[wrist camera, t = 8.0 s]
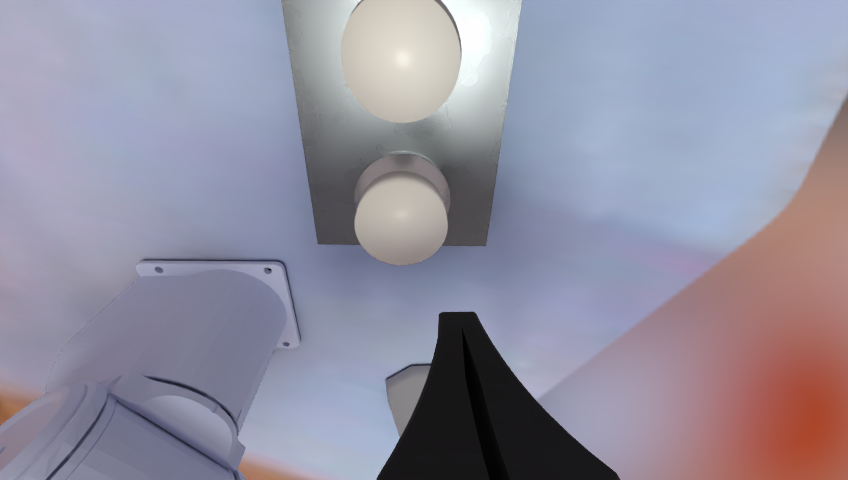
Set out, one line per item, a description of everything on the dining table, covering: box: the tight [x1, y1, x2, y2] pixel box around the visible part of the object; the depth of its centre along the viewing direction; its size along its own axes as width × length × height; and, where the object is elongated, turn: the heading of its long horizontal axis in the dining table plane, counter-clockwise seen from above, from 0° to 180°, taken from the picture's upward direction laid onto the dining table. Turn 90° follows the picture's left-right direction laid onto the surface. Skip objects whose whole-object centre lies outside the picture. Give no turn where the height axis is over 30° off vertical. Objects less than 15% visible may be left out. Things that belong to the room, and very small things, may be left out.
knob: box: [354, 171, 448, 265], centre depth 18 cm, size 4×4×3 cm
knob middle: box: [340, 0, 461, 123], centre depth 14 cm, size 4×4×3 cm
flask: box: [386, 365, 431, 437], centre depth 27 cm, size 7×7×10 cm
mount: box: [281, 0, 522, 246], centre depth 16 cm, size 10×20×2 cm, turn 178°
